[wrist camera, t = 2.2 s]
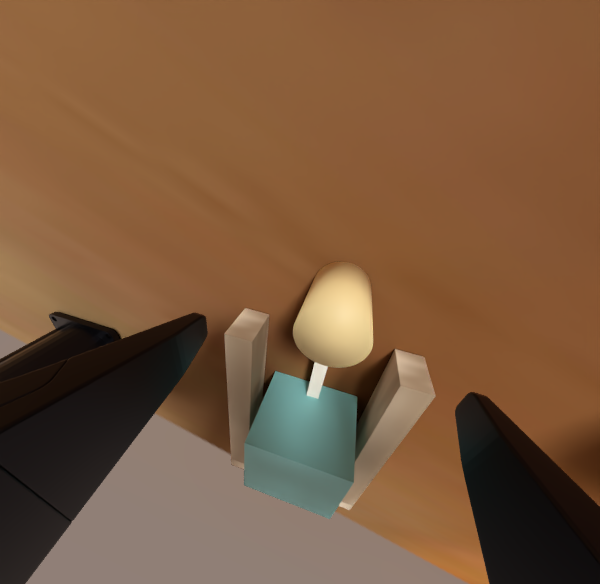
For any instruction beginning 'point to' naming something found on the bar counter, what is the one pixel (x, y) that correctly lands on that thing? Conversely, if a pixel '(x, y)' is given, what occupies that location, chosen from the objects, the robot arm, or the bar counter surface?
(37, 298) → the bar counter surface
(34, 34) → the bar counter surface
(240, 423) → the u-shaped wooden stand
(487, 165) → the bar counter surface
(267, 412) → the teal knobbed plunger
